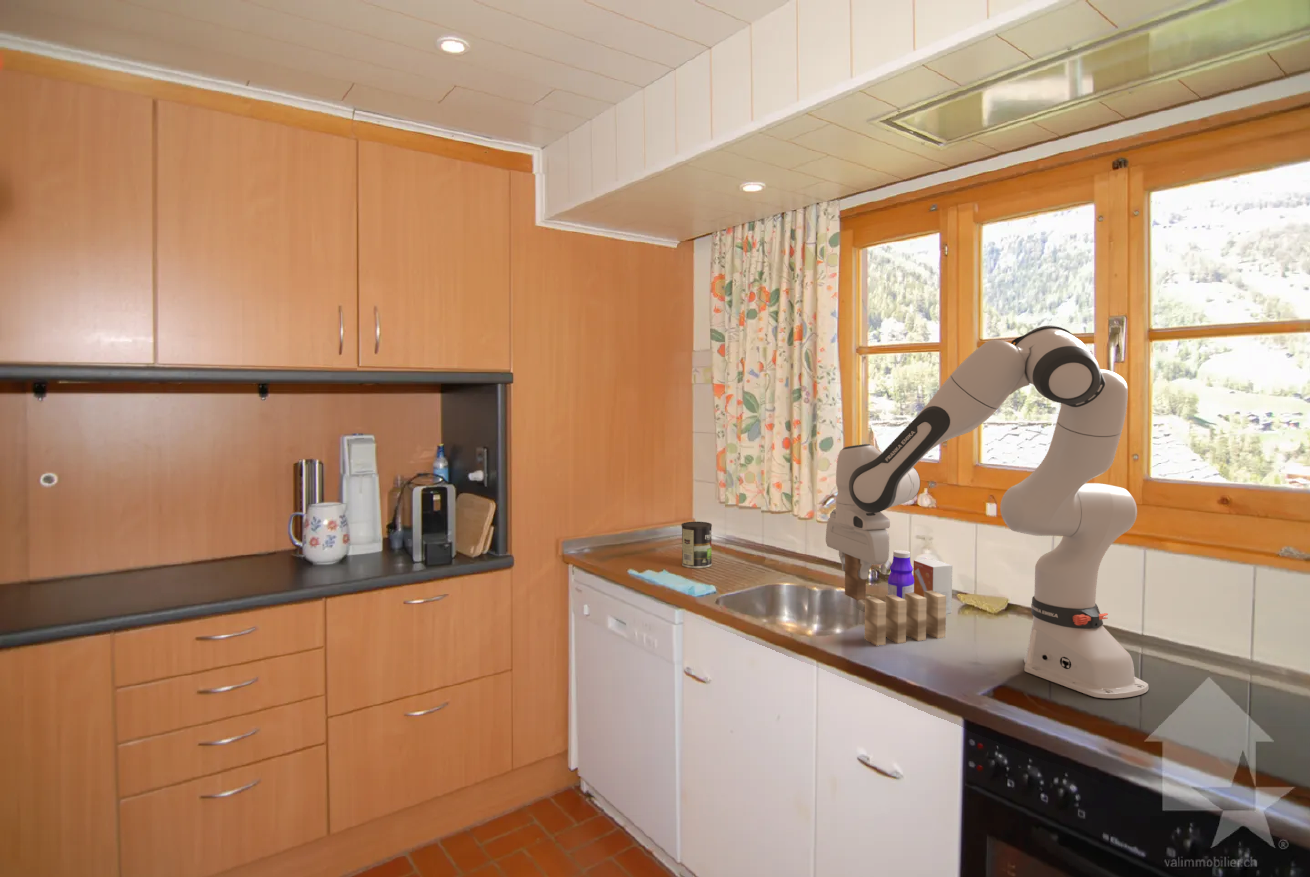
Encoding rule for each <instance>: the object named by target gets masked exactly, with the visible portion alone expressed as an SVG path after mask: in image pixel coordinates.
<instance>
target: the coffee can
mask: <svg viewBox="0 0 1310 877" xmlns="http://www.w3.org/2000/svg"><path fill="white" fill-rule="evenodd" d="M712 526H713V525H712V523H710V522H707V521H686V522H682V523H681V553H682V554H681V565H682V567H683V568H686V569H687V568H688V569H707V568H710V567H712V565H713V563H712V560H713V559H712Z"/></svg>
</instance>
